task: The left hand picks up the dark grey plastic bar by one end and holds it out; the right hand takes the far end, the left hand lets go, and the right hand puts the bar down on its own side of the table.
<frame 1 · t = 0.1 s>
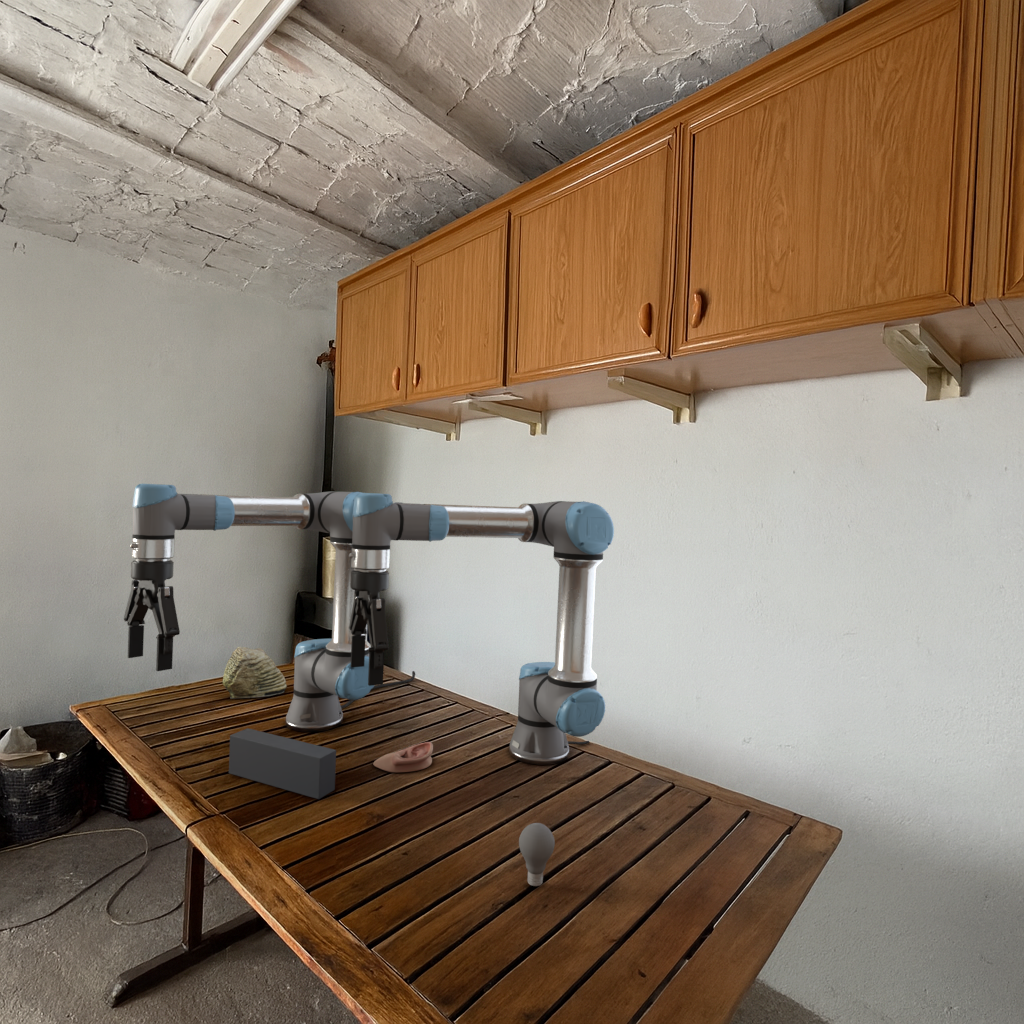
left hand: (149, 663, 129), 28 cm above the table, tool pointing down, fingers open, 13 cm apart
right hand: (366, 675, 127), 28 cm above the table, tool pointing down, fingers open, 13 cm apart
light bulb: (534, 885, 106), on the table
fossil: (254, 694, 198), on the table
anatomical model: (403, 763, 152), on the table
bar: (280, 781, 140), on the table
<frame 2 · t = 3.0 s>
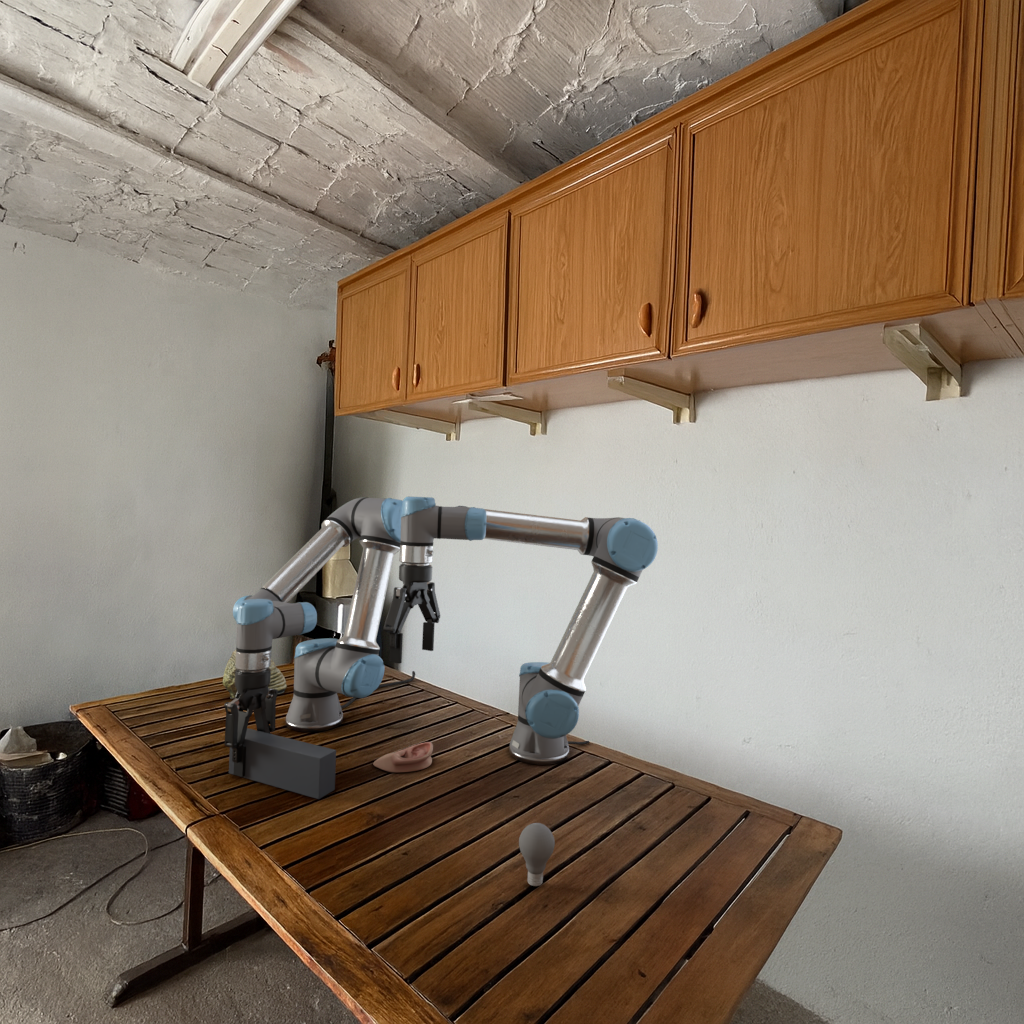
left hand: (249, 769, 144), 1 cm above the table, tool pointing down, fingers closed on bar, 5 cm apart
right hand: (412, 656, 145), 28 cm above the table, tool pointing down, fingers open, 13 cm apart
bar: (280, 781, 140), on the table, touching left hand
everything else where it was.
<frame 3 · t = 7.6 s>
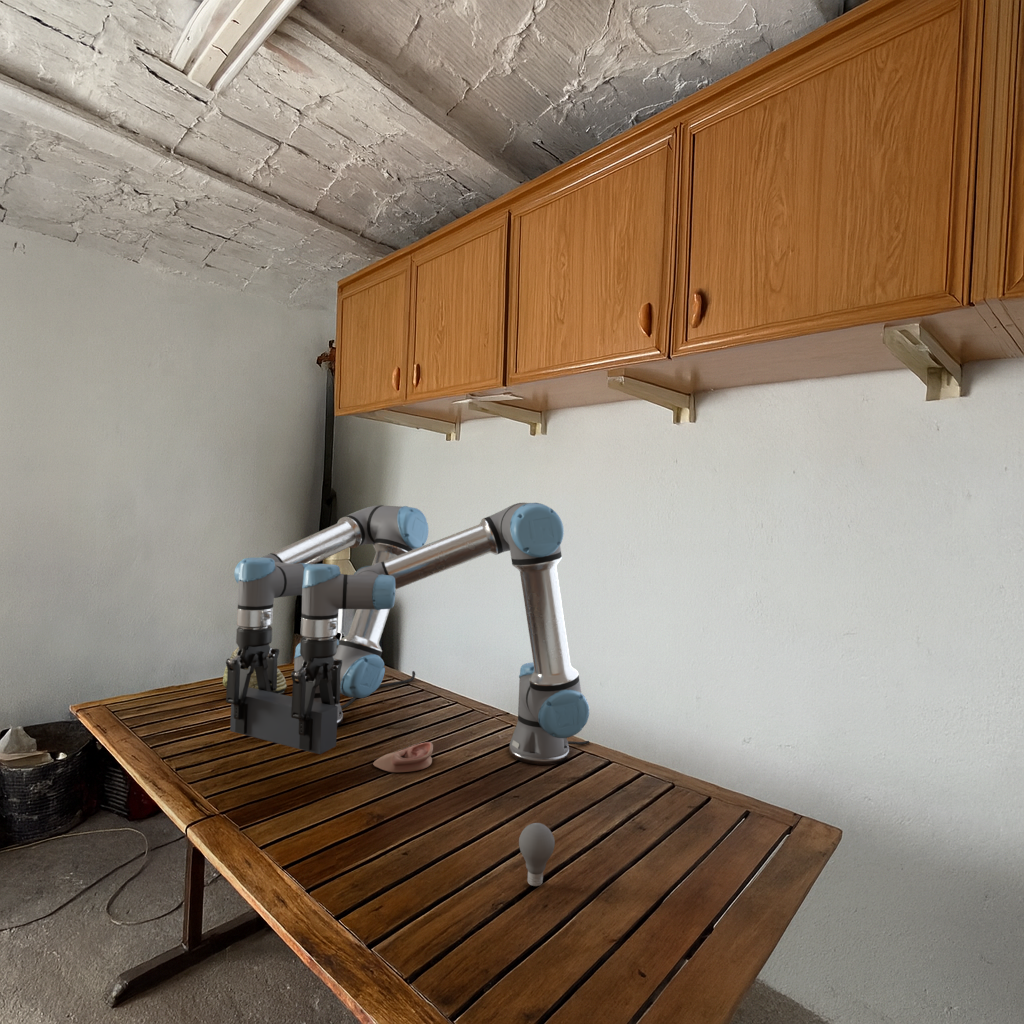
left hand: (251, 728, 144), 10 cm above the table, tool pointing down, fingers closed on bar, 5 cm apart
right hand: (315, 743, 136), 10 cm above the table, tool pointing down, fingers closed on bar, 5 cm apart
bar: (282, 738, 140), point 10 cm above the table, touching left hand, right hand
everything else where it was.
when the left hand's fingers open (10 cm above the table, at t = 8.4 s): bar stays where it is, held by the right hand.
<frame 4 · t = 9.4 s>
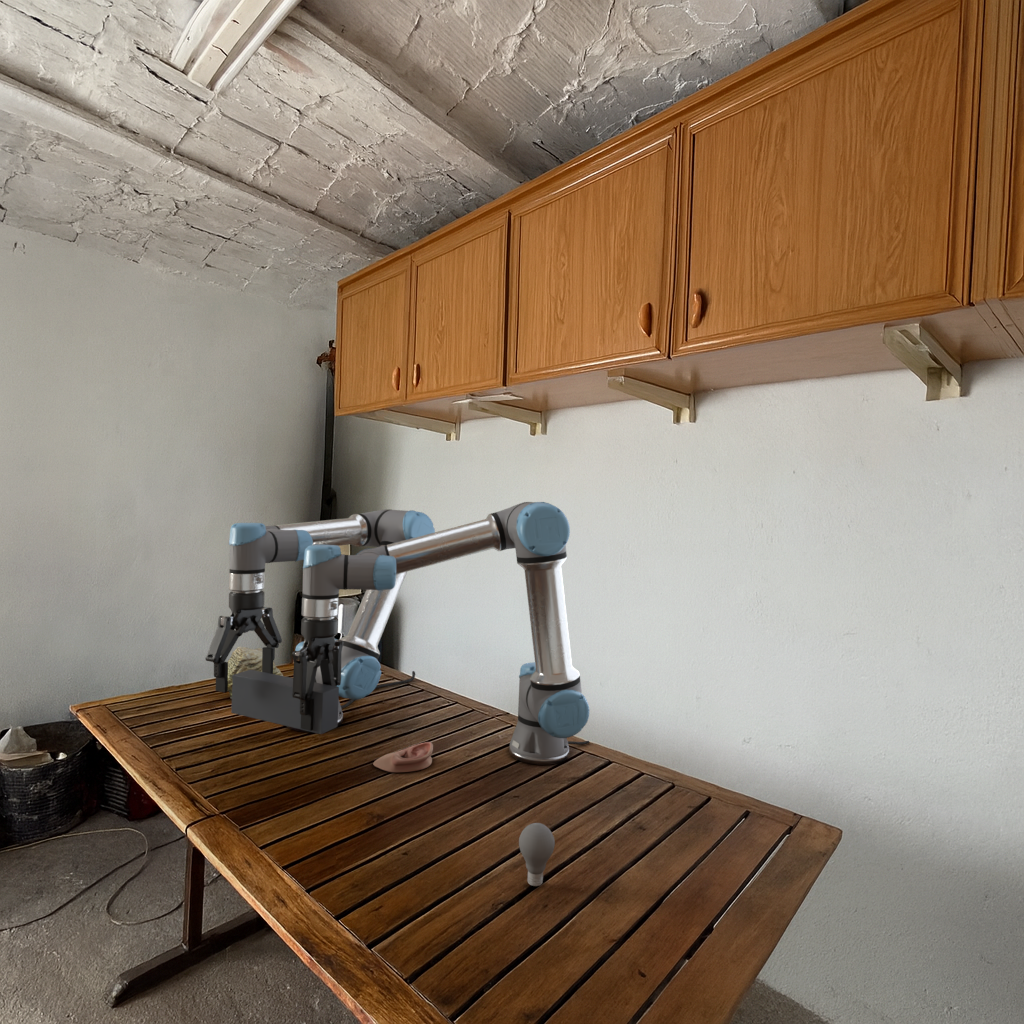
left hand: (245, 683, 145), 20 cm above the table, tool pointing down, fingers open, 13 cm apart
right hand: (316, 724, 136), 14 cm above the table, tool pointing down, fingers closed on bar, 5 cm apart
bar: (283, 719, 140), point 14 cm above the table, touching right hand
everything else where it was.
when the right hand's fingers open (3 cm above the table, at t = 15.7 s): bar drops 2 cm, on the table.
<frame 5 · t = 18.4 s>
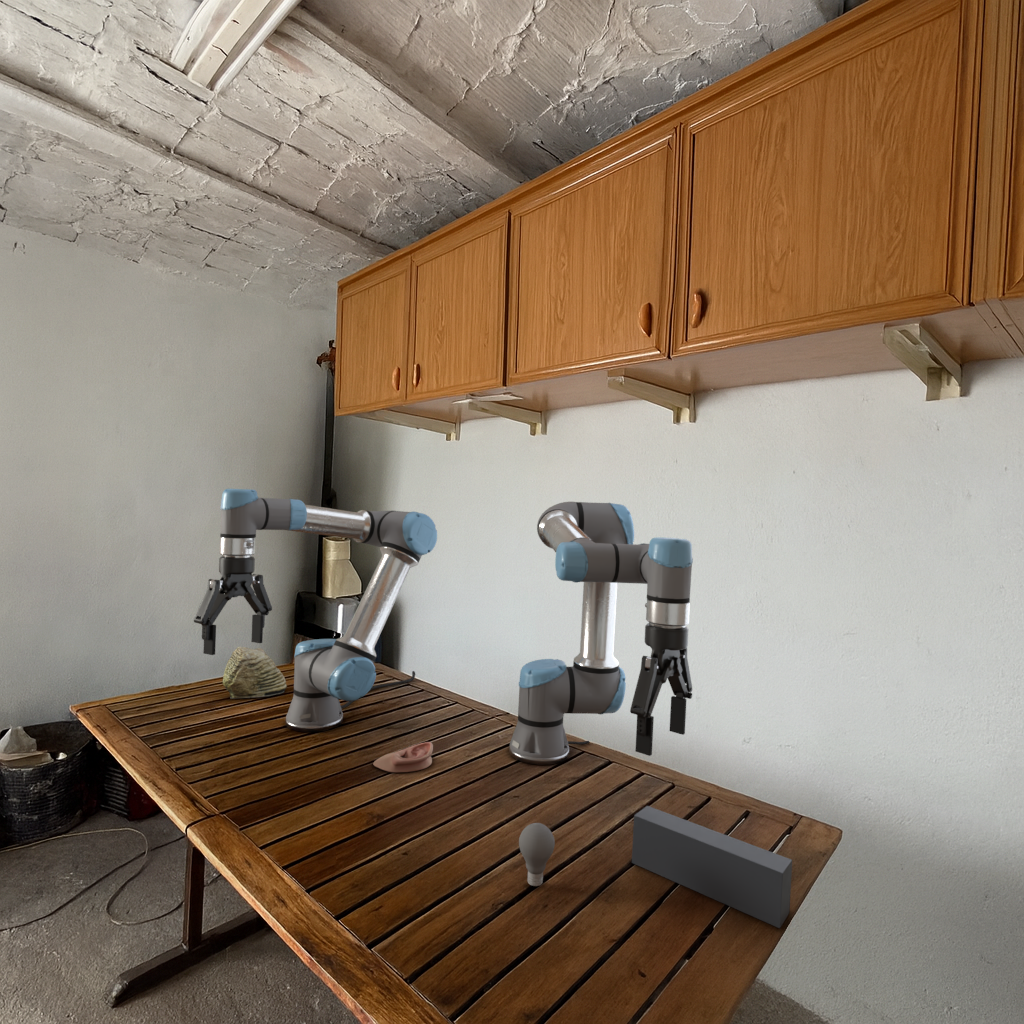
left hand: (234, 648, 146), 28 cm above the table, tool pointing down, fingers open, 13 cm apart
right hand: (661, 742, 113), 22 cm above the table, tool pointing down, fingers open, 13 cm apart
bar: (706, 886, 108), on the table
everything else where it was.
at the end: bar inside the target area (9.5 cm from its centre), on the table; the left hand is holding nothing; the right hand is holding nothing; bar at rest at the end (0.0 cm/s) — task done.
